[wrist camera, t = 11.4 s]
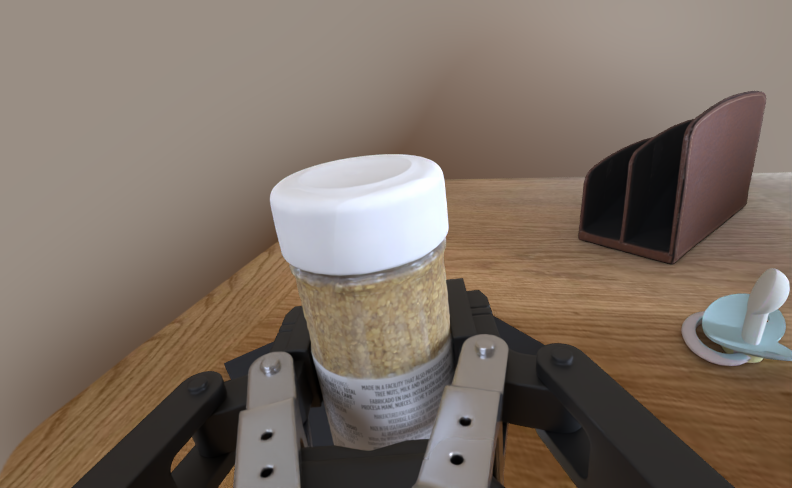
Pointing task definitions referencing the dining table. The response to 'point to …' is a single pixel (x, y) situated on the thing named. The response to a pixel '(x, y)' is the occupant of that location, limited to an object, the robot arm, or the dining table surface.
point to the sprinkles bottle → (372, 291)
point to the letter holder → (674, 182)
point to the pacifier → (743, 324)
